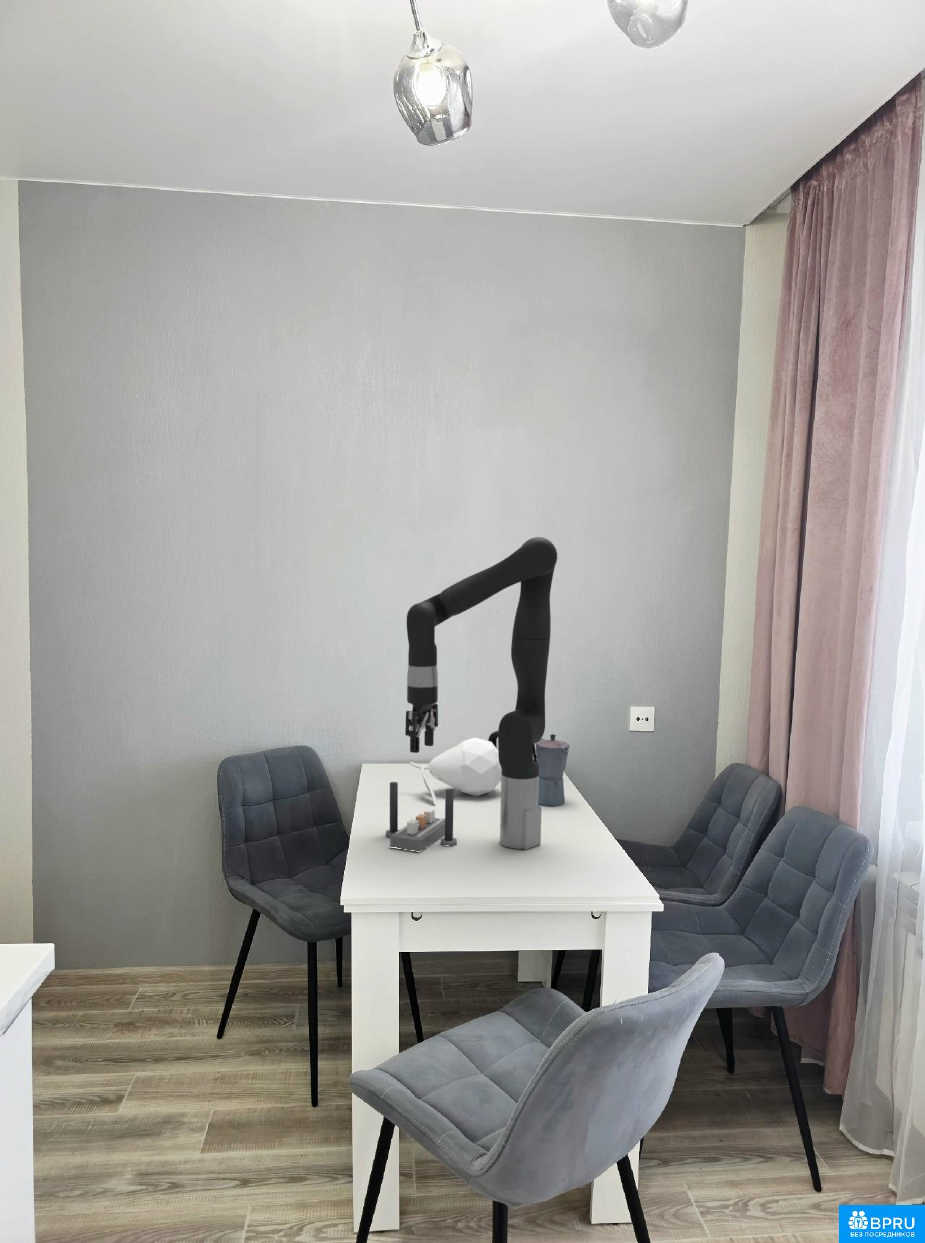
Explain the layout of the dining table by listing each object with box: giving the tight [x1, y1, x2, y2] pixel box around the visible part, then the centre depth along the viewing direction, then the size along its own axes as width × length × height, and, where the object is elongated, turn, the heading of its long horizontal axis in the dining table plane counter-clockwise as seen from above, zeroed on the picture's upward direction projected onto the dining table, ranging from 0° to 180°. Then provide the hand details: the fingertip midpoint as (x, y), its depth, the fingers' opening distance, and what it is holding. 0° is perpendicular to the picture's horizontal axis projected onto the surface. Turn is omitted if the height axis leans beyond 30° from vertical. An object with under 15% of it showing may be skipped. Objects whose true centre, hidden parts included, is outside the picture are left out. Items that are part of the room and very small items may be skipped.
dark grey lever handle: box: [385, 781, 400, 838], centre depth 227 cm, size 4×4×14 cm
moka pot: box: [533, 733, 570, 807], centre depth 259 cm, size 10×15×20 cm, turn 41°
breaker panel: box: [389, 817, 445, 853], centre depth 224 cm, size 18×8×4 cm, turn 158°
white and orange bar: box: [406, 808, 436, 835], centre depth 224 cm, size 13×2×3 cm, turn 158°
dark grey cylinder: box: [440, 788, 458, 847], centre depth 221 cm, size 4×4×14 cm
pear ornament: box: [409, 737, 501, 806], centre depth 264 cm, size 16×22×28 cm
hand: (422, 749), depth 223 cm, fingers open, 8 cm apart
